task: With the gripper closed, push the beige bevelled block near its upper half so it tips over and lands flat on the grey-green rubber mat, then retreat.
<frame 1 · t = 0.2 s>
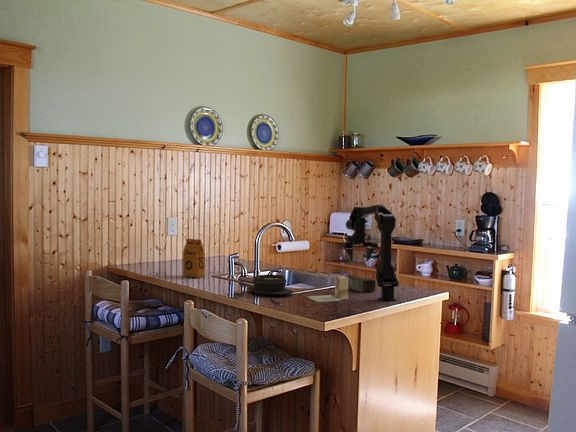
hand: (359, 261, 284), 14 cm above the countertop, tool pointing down, fingers open, 9 cm apart
casserole: (269, 294, 270), on the countertop
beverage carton: (358, 290, 285), on the countertop
coffee package: (194, 277, 317), on the countertop
mat: (323, 299, 259), on the countertop
beige bevelled block: (341, 298, 262), on the countertop
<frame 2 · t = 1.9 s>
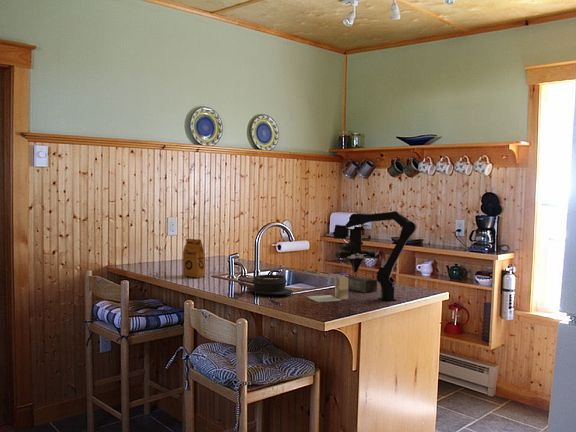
hand: (355, 272, 264), 12 cm above the countertop, tool pointing down, fingers closed
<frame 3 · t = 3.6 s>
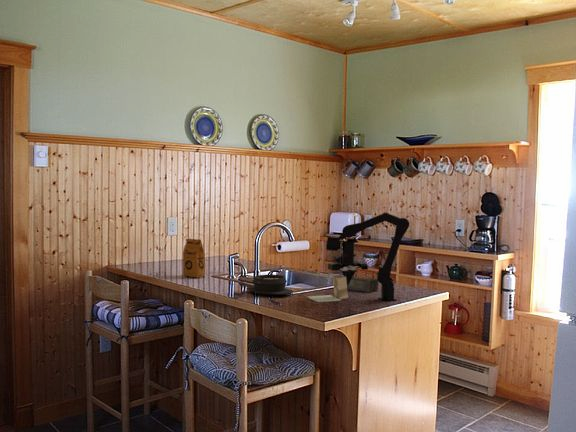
hand: (347, 284, 263), 6 cm above the countertop, tool pointing down, fingers closed
beige bevelled block: (341, 297, 262), on the countertop, tilted 7°
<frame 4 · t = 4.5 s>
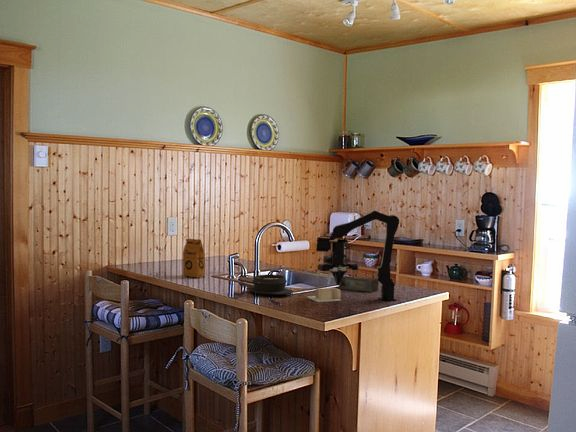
hand: (337, 285, 261), 6 cm above the countertop, tool pointing down, fingers closed
beige bevelled block: (337, 293, 261), point 2 cm above the countertop, tilted 90°, touching mat
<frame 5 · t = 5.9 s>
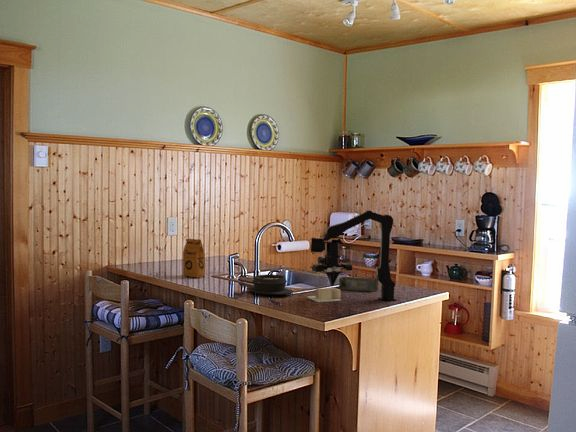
hand: (332, 285, 260), 6 cm above the countertop, tool pointing down, fingers closed
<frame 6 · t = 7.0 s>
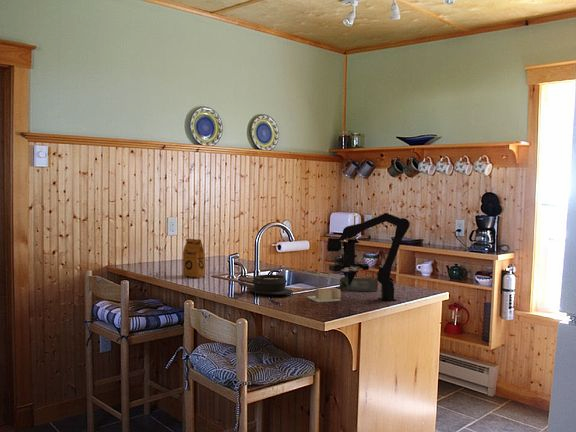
hand: (348, 285, 263), 6 cm above the countertop, tool pointing down, fingers closed
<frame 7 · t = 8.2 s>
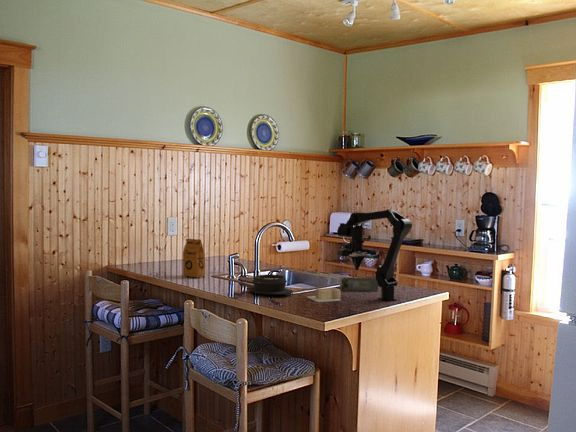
hand: (356, 269, 271), 12 cm above the countertop, tool pointing down, fingers closed
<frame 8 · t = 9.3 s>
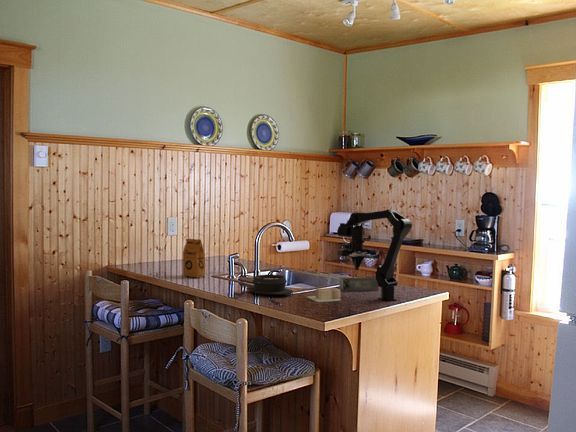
hand: (356, 269, 271), 12 cm above the countertop, tool pointing down, fingers closed
at the end: beige bevelled block tilted 90°; beige bevelled block inside the target area (6.1 cm from its centre), point 2.4 cm above the countertop; the gripper is holding nothing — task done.
